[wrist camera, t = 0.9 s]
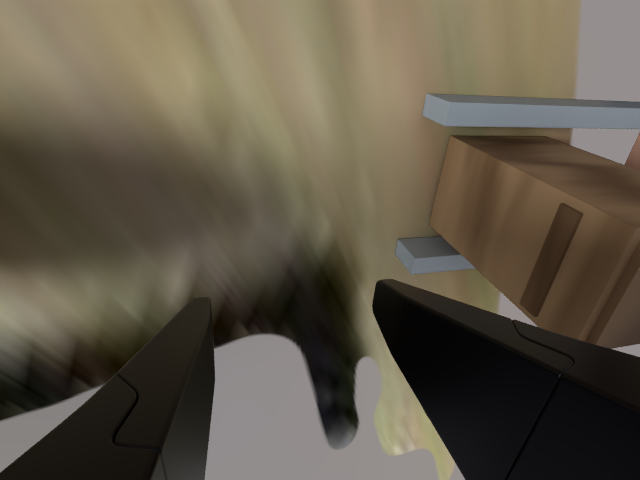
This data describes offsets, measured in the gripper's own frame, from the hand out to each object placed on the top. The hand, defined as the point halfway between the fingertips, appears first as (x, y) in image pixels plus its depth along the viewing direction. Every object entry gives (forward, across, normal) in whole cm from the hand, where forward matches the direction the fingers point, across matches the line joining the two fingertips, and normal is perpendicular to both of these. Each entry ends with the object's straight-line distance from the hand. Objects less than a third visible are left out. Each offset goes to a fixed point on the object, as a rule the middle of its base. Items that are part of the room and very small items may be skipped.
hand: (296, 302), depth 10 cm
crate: (+13, +16, -2) cm, 20 cm away
